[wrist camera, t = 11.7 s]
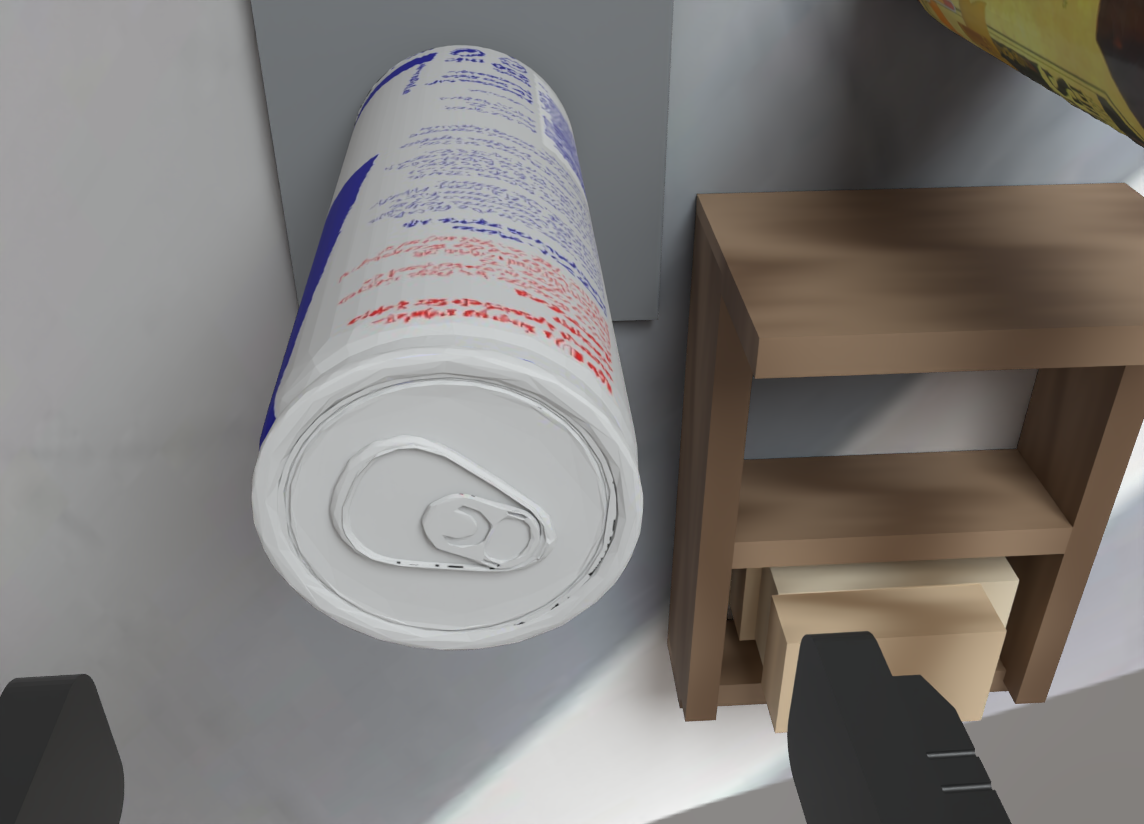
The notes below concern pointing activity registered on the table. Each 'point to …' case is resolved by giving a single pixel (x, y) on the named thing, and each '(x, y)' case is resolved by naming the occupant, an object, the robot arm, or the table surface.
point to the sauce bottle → (1064, 49)
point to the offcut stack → (882, 620)
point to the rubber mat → (520, 30)
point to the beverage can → (452, 374)
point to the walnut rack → (892, 346)
